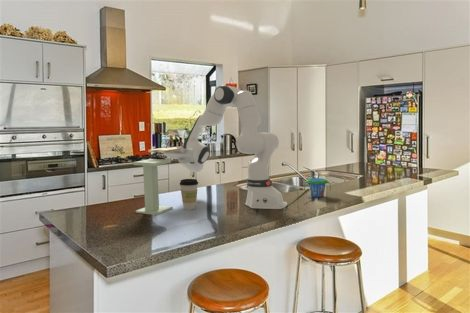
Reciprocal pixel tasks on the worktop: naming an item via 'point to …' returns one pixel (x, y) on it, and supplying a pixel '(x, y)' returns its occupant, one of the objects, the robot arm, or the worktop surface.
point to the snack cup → (317, 186)
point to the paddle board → (165, 150)
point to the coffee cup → (189, 193)
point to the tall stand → (152, 186)
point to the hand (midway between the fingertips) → (173, 147)
